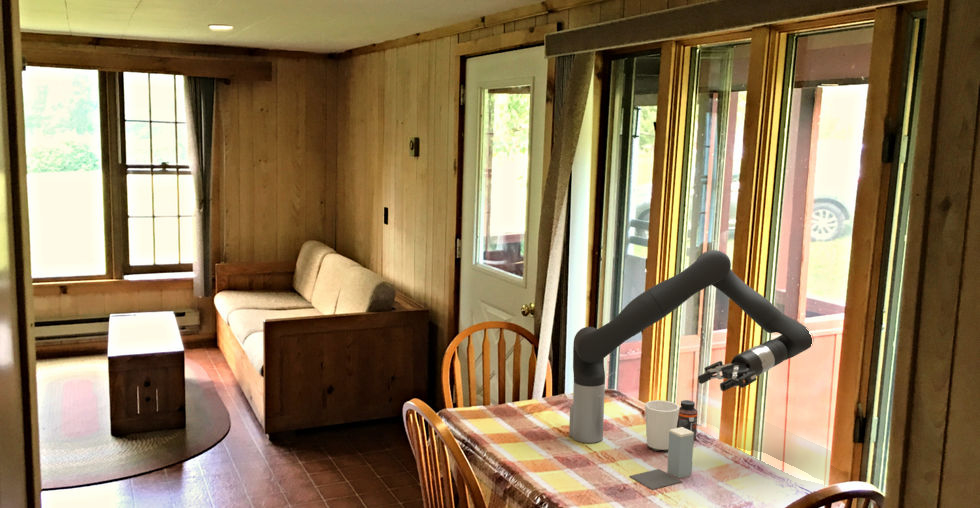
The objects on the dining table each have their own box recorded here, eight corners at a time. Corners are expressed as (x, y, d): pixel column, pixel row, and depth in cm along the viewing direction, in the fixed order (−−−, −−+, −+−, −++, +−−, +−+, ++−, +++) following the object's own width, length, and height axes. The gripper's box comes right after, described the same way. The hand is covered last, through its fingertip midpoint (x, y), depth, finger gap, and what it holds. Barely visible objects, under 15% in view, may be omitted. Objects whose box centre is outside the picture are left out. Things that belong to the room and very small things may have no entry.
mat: (629, 476, 216) (629, 475, 216) (658, 469, 221) (658, 468, 221) (652, 489, 208) (652, 488, 208) (681, 482, 213) (681, 481, 213)
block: (667, 472, 219) (669, 429, 218) (679, 469, 221) (682, 426, 220) (678, 478, 215) (681, 435, 214) (691, 475, 218) (693, 432, 216)
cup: (657, 456, 230) (659, 413, 228) (635, 444, 239) (637, 402, 237) (684, 450, 235) (686, 408, 233) (662, 439, 243) (664, 398, 241)
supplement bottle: (696, 442, 241) (698, 406, 239) (675, 441, 242) (677, 404, 240) (695, 435, 247) (697, 399, 245) (675, 433, 248) (677, 398, 246)
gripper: (732, 345, 232) (689, 365, 225) (770, 354, 219) (726, 377, 212) (737, 369, 233) (694, 390, 227) (775, 380, 221) (731, 403, 214)
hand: (710, 384), depth 219 cm, fingers open, 8 cm apart
